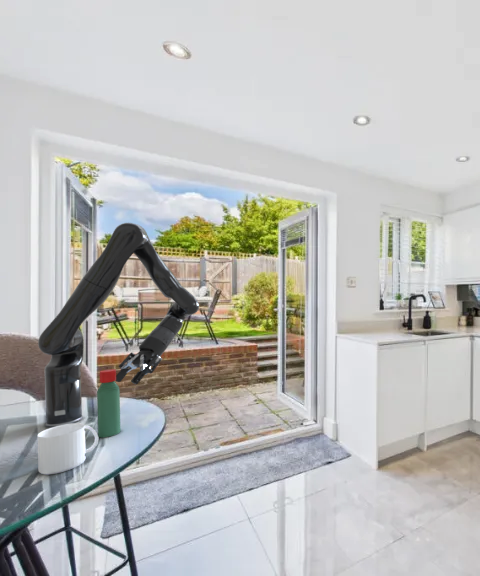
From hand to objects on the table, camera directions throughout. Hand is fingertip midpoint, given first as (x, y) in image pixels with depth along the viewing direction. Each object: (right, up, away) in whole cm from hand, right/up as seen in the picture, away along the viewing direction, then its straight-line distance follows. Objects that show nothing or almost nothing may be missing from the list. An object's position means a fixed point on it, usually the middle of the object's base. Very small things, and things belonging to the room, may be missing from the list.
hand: (124, 382), depth 115 cm
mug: (+3, -15, -23) cm, 28 cm away
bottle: (-2, -15, -5) cm, 16 cm away
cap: (-2, +2, -5) cm, 5 cm away
